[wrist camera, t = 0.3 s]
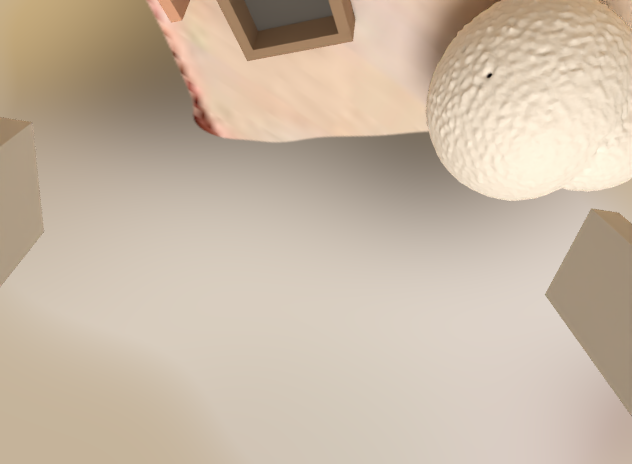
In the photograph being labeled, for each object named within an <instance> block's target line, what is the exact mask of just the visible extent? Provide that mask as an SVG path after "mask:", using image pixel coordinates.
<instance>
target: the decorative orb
mask: <svg viewBox="0 0 632 464" xmlns="http://www.w3.org/2000/svg"><path fill="white" fill-rule="evenodd" d="M426 117H427V126H428V129H429V133H430V138H431V139H432V144H433V146H434V147H435V150H436V152H437V156H439V158H440V161H441V162H442V163H443V165H444V166H445V167H446V169H447V170H448V171H449V172H450V173H451V174H452V175H453V176H454V177H455V178H457V180H458V181H459V182H460V183H462V184H464V185H466V186H467V187H469V188H470V189H472V190H474V191H477V192H479V193H481V194H484V195H486V196H488V197H493V198H498V199H504V200H511V201H515V200H524V199H530V198H532V199H535V198H537V197H540V196H546V195H547V194H548V193H552V192H553V191H556V190H559V189H560V188H564V189H567V190H576V191H581V190H583V191H586V192H589V191H592V190H598V191H600V190H602V189H605V188H611V187H613V186H618V185H620V184H622V183H624V182H627V181H628V180H629V179H630V178H632V32H631V29H630V28H629V27H628V26H627V25H626V23H624V21H623V20H622V19H621V18H619V16H618V15H616V14H615V13H614V11H612V10H610V9H609V7H608V5H606V4H602V3H600V2H599V1H598V0H501V1H499V2H497V3H494V4H493V5H492V6H491V7H490V8H488V9H487V10H485V11H482V12H481V13H480V14H479V15H478V16H477V17H474V19H473V20H472V21H471V22H470V23H468V24H466V25H464V27H463V30H461V31H458V33H457V36H456V37H455V38H454V39H453V40H452V42H451V43H450V44H449V45H448V48H447V49H446V50H445V53H444V55H443V56H442V58H441V60H440V61H439V62H438V64H437V67H436V71H435V72H434V73H433V77H432V80H431V83H430V87H429V93H428V96H427V105H426Z"/></svg>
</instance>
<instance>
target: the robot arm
mask: <svg viewBox="0 0 632 464" xmlns="http://www.w3.org/2000/svg"><path fill="white" fill-rule="evenodd" d="M43 233H44V228H43V218H42V209H41V199H40V190H39V181H38V171H37V162H36V151H35V142H34V134H33V123H32V122H28V121H22V120H16V119H9V118H2V117H0V287H1V285H2V284H3V283H4V282H5V280H6V279H7V278H8V277H9V275H10V274H11V273H12V271H13V270H14V269H15V268H16V266H17V265H18V264H19V263H20V262H21V260H22V259H23V257H24V256H25V255H26V254H27V253H28V251H29V250H30V249H31V248H32V246H33V245H34V244H35V243H36V241H37V240H38V239H39V237H40V236H41V235H42V234H43ZM545 295H546V297H547V298H548V299H549V301H550V302H551V304H552V305H553V307H554V308H555V309H556V311H557V312H558V314H559V315H560V316H561V318H562V319H563V321H564V322H565V323H566V325H567V326H568V328H569V329H570V330H571V332H572V333H573V335H574V336H575V337H576V339H577V340H578V342H579V343H580V344H581V346H582V347H583V349H584V350H585V351H586V353H587V354H588V356H589V357H590V359H591V360H592V361H593V363H594V364H595V365H596V367H597V368H598V370H599V371H600V372H601V374H602V375H603V377H604V378H605V380H606V381H607V382H608V384H609V385H610V387H611V388H612V389H613V391H614V392H615V394H616V395H617V396H618V397H619V399H620V401H621V402H622V403H623V405H624V406H625V408H626V409H627V410H628V412H629V413H630V415H631V416H632V224H631V223H630V222H629V221H628V220H627V219H625V218H624V217H623V216H622V215H621V214H620V213H617V212H611V211H604V210H597V209H591V210H590V212H589V214H588V216H587V218H586V220H585V221H584V223H583V225H582V227H581V229H580V230H579V232H578V234H577V236H576V238H575V240H574V242H573V244H572V245H571V247H570V249H569V251H568V253H567V255H566V256H565V258H564V260H563V262H562V264H561V266H560V268H559V270H558V271H557V273H556V275H555V277H554V279H553V281H552V282H551V284H550V286H549V288H548V290H547V292H546V294H545Z"/></svg>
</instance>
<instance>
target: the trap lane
mask: <svg viewBox="0 0 632 464" xmlns="http://www.w3.org/2000/svg"><path fill="white" fill-rule="evenodd" d="M158 1H159V3H160V5H161V6H162V8H163V10H164V11H165V13H166V14H167V16H168V18H169V19H170V21H171V23H172V22H177V21H181V20H182V19H183V17H184V14H185V12H186V9H187V7H188V4H189V2H190V0H158ZM217 2H218V4H219V6H220V8H221V10H222V12H223V14H224V16H225V18H226V20H227V22H228V24H229V25H230V27H231V29H232V31H233V33H234V35H235V37H236V39H237V41H238V43H239V45H240V47H241V49H242V51H243V53H244V55H245V57H246V59H247V61H250V60H256V59H261V58H266V57H272V56H277V55H282V54H288V53H293V52H298V51H304V50H309V49H314V48H320V47H325V46H330V45H336V44H341V43H346V42H352V41H353V36H354V26H355V16H354V13H353V9H352V5H351V1H350V0H217Z"/></svg>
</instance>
